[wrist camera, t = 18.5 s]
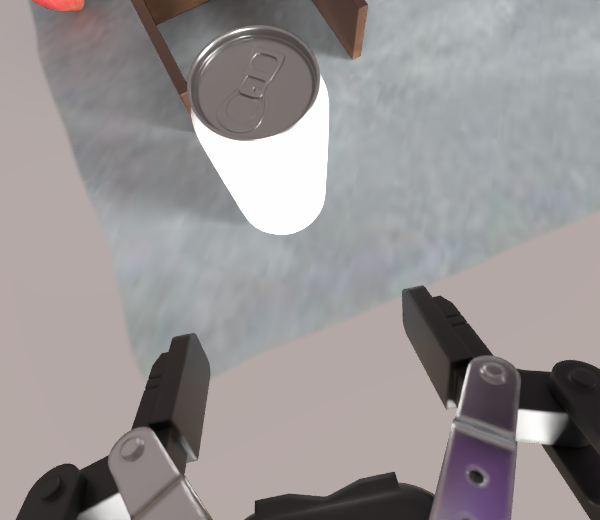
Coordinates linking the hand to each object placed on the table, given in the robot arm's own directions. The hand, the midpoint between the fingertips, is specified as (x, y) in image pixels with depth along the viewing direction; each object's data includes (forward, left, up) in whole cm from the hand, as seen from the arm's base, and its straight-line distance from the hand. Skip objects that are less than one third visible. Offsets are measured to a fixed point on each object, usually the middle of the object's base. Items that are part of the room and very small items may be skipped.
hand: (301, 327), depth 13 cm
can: (-3, -10, -11) cm, 15 cm away
